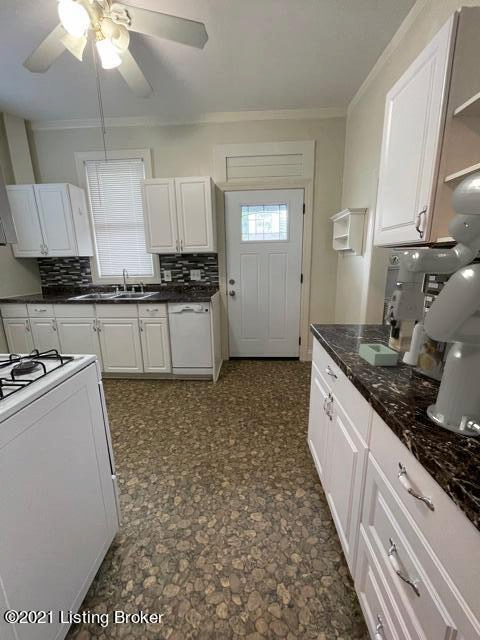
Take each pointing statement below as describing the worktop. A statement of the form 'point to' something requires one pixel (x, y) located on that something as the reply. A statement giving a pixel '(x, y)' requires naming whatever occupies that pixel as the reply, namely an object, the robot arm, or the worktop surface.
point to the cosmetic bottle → (415, 344)
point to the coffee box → (432, 357)
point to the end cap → (378, 354)
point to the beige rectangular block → (403, 336)
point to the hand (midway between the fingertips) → (400, 337)
